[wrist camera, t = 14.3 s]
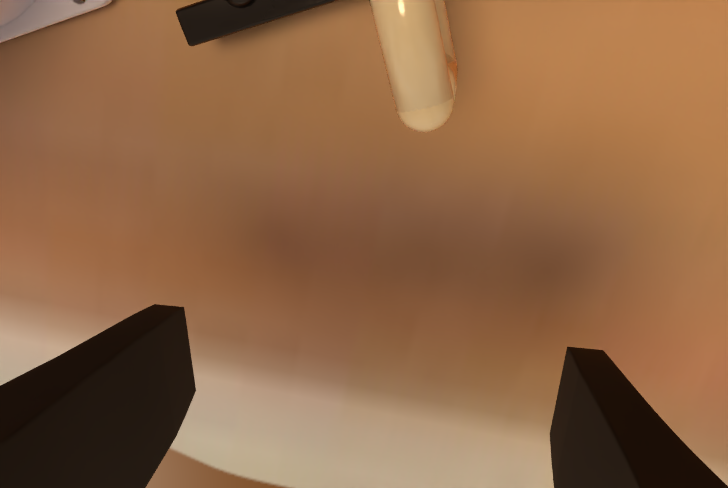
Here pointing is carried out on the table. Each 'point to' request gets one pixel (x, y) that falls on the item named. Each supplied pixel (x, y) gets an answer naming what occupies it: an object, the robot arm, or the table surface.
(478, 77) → the table surface
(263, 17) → the rack
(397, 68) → the beige mug
